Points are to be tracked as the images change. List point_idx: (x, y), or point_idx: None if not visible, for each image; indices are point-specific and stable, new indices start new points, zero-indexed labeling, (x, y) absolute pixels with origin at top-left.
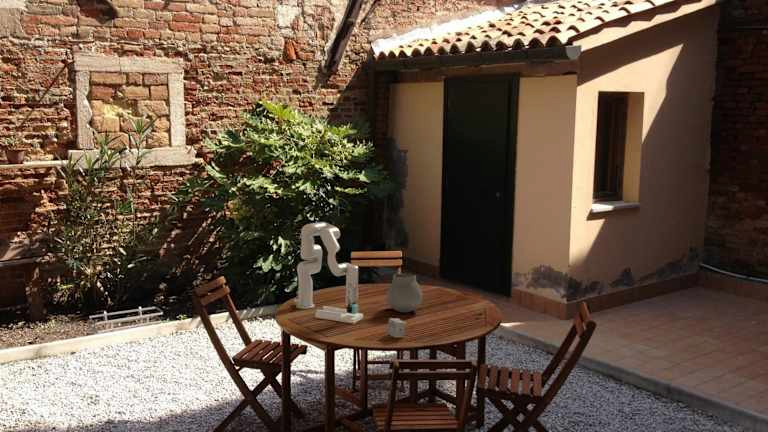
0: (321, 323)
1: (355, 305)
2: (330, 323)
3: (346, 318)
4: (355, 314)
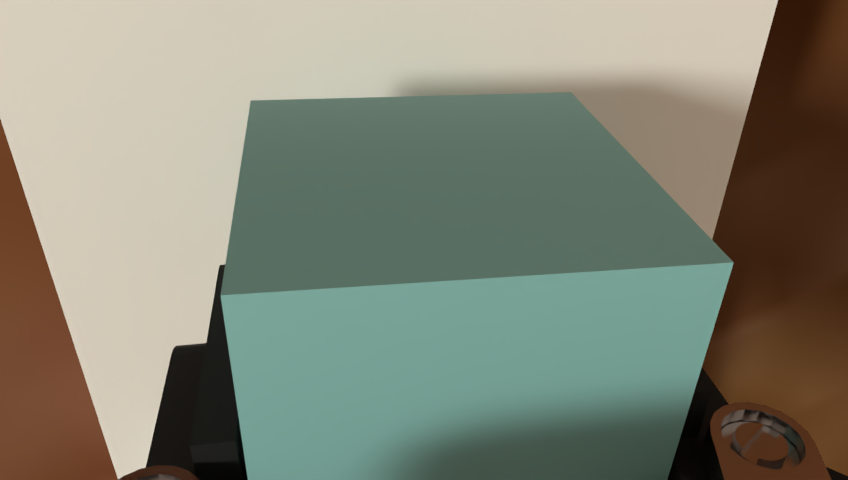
0: (842, 467)
1: (445, 368)
2: (820, 370)
3: (717, 210)
4: (219, 184)
